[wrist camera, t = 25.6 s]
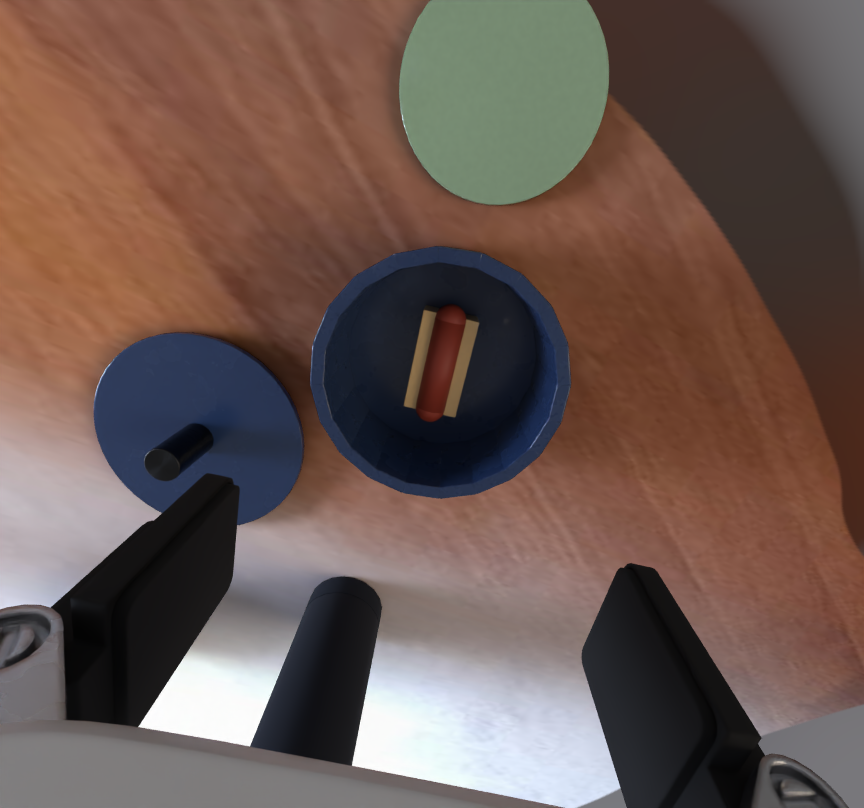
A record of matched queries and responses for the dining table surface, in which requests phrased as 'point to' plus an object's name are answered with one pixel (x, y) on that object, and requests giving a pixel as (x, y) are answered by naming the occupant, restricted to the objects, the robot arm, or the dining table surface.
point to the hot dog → (440, 361)
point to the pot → (483, 387)
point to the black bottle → (324, 675)
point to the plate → (503, 94)
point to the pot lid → (198, 422)
